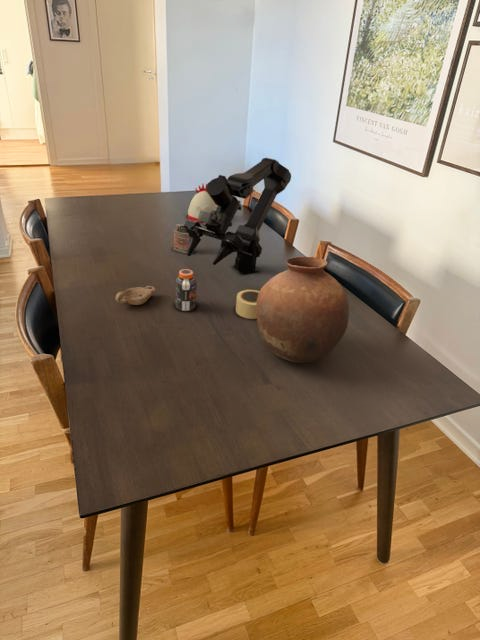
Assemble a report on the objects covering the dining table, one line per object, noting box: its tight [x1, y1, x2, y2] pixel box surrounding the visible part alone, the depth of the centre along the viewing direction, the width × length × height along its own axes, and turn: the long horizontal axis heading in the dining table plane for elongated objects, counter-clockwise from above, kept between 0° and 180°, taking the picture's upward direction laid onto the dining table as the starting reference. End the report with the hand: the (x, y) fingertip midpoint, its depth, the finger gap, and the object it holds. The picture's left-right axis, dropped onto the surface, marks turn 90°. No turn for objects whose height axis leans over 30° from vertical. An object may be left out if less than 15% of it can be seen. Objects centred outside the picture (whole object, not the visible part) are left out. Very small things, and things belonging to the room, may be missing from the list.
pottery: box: [256, 256, 350, 364], centre depth 111 cm, size 23×23×25 cm
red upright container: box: [173, 223, 195, 254], centre depth 163 cm, size 8×3×10 cm, turn 68°
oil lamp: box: [115, 285, 156, 306], centre depth 130 cm, size 13×8×5 cm, turn 134°
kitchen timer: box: [187, 182, 218, 224], centre depth 195 cm, size 14×14×15 cm
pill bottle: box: [174, 268, 197, 312], centre depth 129 cm, size 6×6×11 cm
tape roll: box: [235, 289, 260, 320], centre depth 131 cm, size 9×9×5 cm
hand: (200, 259), depth 130 cm, fingers open, 9 cm apart
